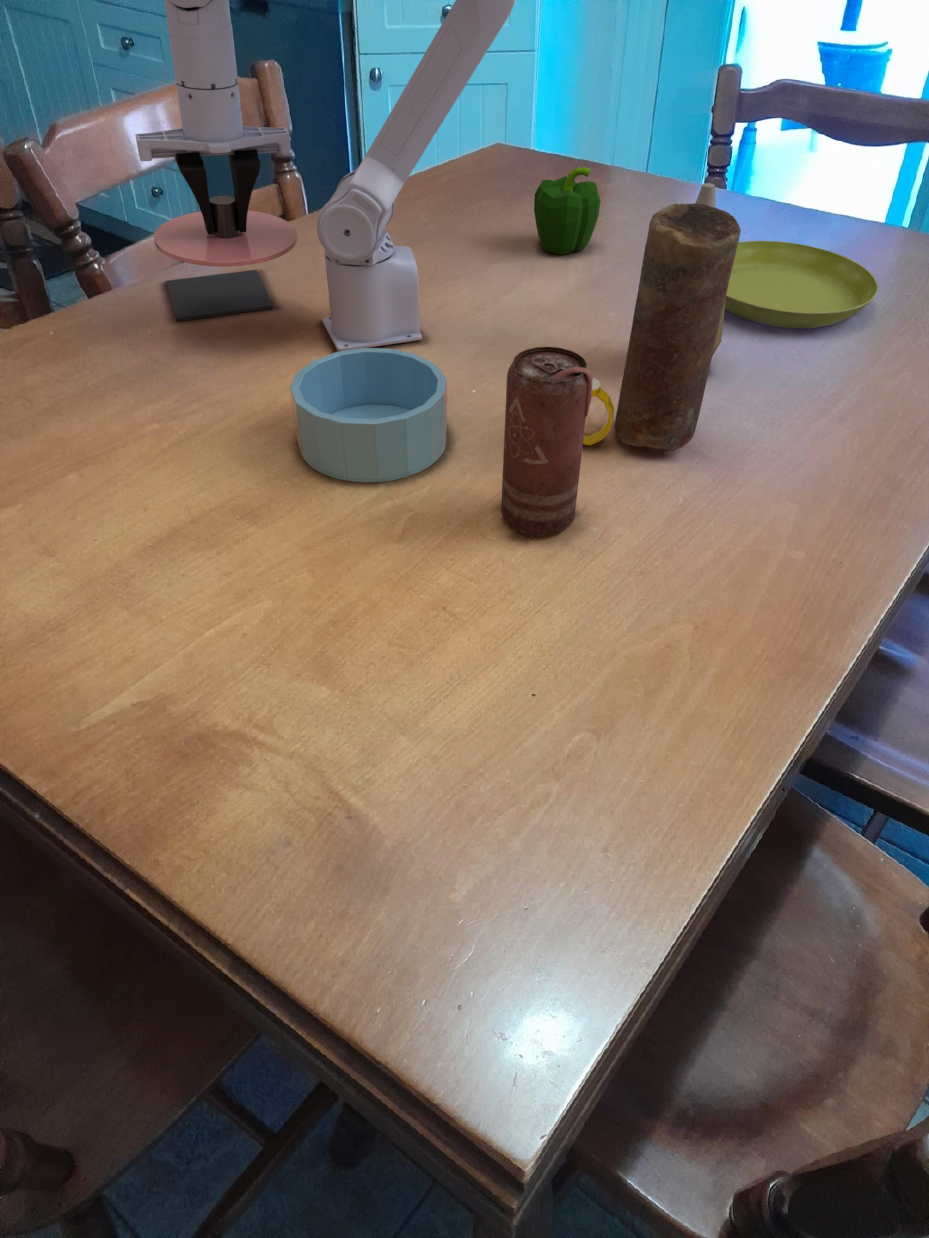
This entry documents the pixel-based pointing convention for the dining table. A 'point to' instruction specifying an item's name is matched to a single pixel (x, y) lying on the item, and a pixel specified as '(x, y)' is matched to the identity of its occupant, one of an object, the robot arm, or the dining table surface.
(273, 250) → the lid
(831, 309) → the saucer
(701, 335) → the candle
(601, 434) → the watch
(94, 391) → the dining table surface
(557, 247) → the bell pepper
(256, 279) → the mat
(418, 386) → the bowl
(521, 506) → the can
